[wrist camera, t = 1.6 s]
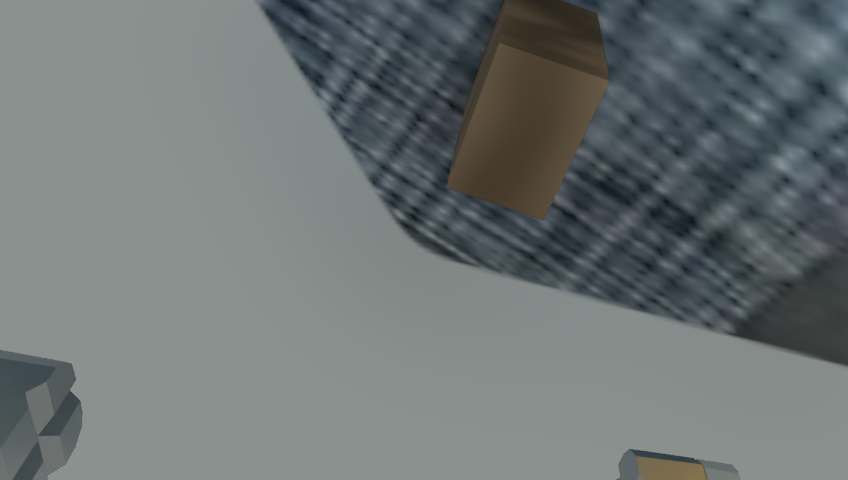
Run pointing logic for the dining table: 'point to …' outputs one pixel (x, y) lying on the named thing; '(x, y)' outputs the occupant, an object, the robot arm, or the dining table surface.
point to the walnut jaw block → (530, 104)
